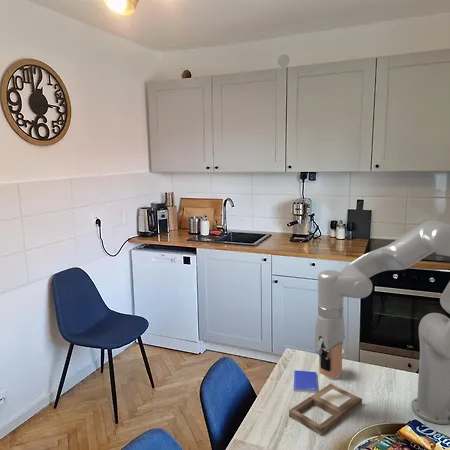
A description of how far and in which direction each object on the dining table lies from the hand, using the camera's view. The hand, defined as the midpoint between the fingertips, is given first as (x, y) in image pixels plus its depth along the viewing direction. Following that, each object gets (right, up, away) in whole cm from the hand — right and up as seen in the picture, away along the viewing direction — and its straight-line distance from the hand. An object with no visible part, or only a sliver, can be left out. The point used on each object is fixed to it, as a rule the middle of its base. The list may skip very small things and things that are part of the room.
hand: (330, 365), depth 124 cm
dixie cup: (+6, -12, +22) cm, 26 cm away
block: (0, -2, 0) cm, 3 cm away
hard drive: (-4, -13, +18) cm, 23 cm away
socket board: (-1, -15, +2) cm, 15 cm away
